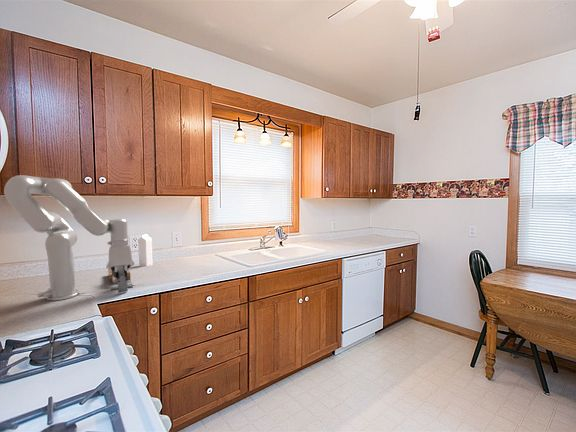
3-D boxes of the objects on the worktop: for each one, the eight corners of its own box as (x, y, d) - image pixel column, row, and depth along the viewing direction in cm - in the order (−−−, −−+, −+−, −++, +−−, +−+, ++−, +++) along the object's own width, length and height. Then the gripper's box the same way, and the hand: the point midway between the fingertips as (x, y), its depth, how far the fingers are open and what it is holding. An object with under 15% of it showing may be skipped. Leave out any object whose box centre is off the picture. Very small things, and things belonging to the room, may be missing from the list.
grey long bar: (129, 290, 144) (128, 275, 142) (116, 293, 141) (116, 277, 139) (124, 274, 161) (124, 260, 160) (113, 276, 158) (113, 262, 157)
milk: (152, 265, 198) (151, 233, 196) (146, 267, 192) (145, 235, 190) (145, 264, 199) (144, 233, 197) (139, 267, 193) (137, 234, 191)
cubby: (132, 287, 151) (132, 278, 150) (110, 291, 145) (109, 281, 145) (127, 274, 175) (127, 266, 175) (108, 277, 170) (108, 268, 169)
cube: (125, 281, 157) (124, 274, 156) (115, 283, 154) (115, 275, 154) (124, 278, 160) (124, 271, 160) (115, 280, 158) (114, 272, 157)
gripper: (101, 245, 138) (103, 283, 140) (138, 242, 147) (139, 277, 149) (100, 243, 144) (102, 279, 146) (136, 240, 153) (137, 274, 155)
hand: (121, 278), depth 147 cm, fingers closed on grey long bar
